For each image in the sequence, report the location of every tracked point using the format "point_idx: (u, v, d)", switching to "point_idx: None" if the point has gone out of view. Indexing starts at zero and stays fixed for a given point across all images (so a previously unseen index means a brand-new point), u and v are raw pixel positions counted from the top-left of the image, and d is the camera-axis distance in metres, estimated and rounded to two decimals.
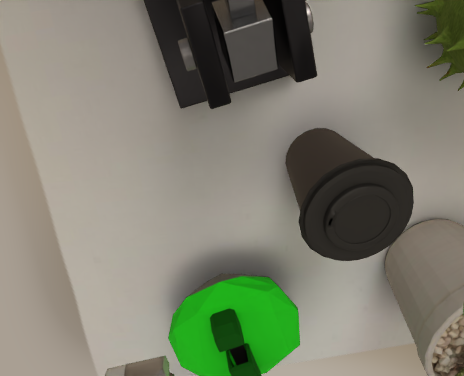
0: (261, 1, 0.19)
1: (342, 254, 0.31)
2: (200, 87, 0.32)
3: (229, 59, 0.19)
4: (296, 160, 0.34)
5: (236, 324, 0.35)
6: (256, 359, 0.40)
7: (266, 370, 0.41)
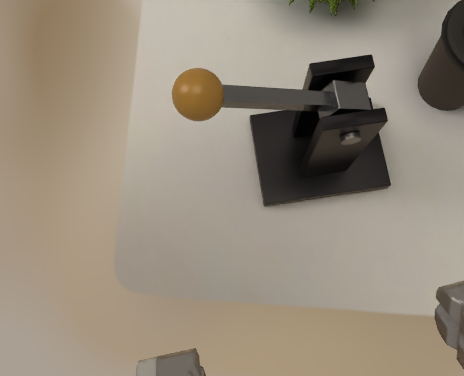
0: (322, 90, 0.31)
1: None
2: (375, 168, 0.41)
3: (355, 109, 0.30)
4: (444, 96, 0.41)
5: None
6: None
7: None
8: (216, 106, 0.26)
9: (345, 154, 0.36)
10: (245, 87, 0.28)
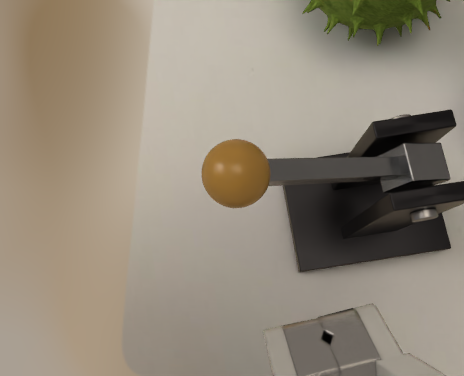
0: (387, 153, 0.25)
1: None
2: (431, 227, 0.35)
3: (432, 179, 0.24)
4: None
5: None
6: None
7: None
8: (261, 191, 0.20)
9: (405, 222, 0.29)
10: (296, 160, 0.21)
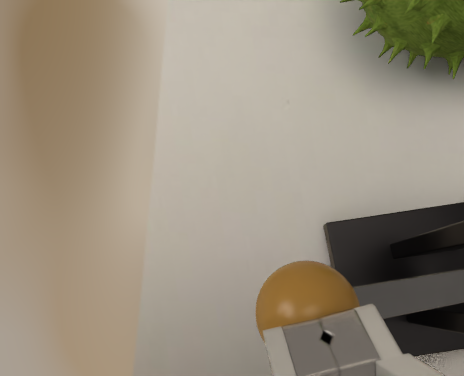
0: None
1: None
2: None
3: None
4: None
5: None
6: None
7: None
8: None
9: None
10: (393, 284, 0.14)
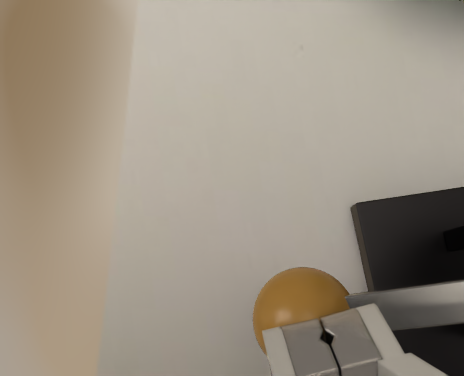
0: None
1: None
2: None
3: None
4: None
5: None
6: None
7: None
8: None
9: None
10: (404, 292, 0.12)
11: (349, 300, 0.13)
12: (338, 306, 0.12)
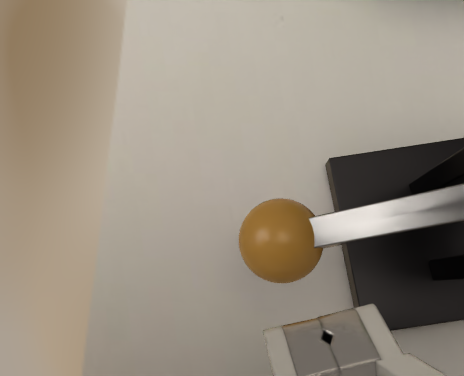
0: None
1: None
2: None
3: None
4: None
5: None
6: None
7: None
8: (296, 267, 0.15)
9: None
10: (354, 210, 0.15)
11: (312, 220, 0.16)
12: (301, 224, 0.15)
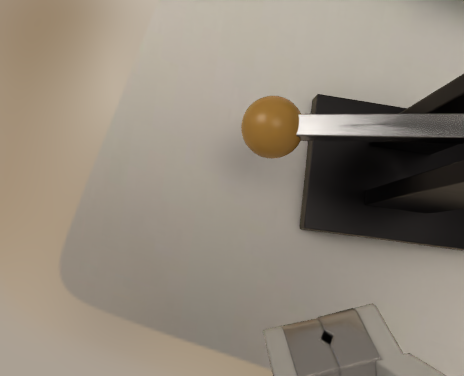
0: None
1: None
2: None
3: None
4: None
5: None
6: None
7: None
8: (280, 144, 0.21)
9: (463, 202, 0.23)
10: (331, 115, 0.21)
11: (300, 116, 0.22)
12: (292, 115, 0.21)
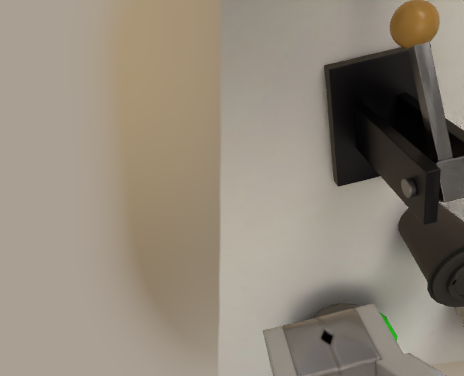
0: (454, 156, 0.31)
1: (453, 302, 0.42)
2: (355, 173, 0.43)
3: (440, 182, 0.30)
4: (415, 227, 0.45)
5: None
6: None
7: None
8: (405, 35, 0.30)
9: (382, 164, 0.36)
10: (432, 65, 0.30)
11: (427, 43, 0.30)
12: (428, 37, 0.30)
